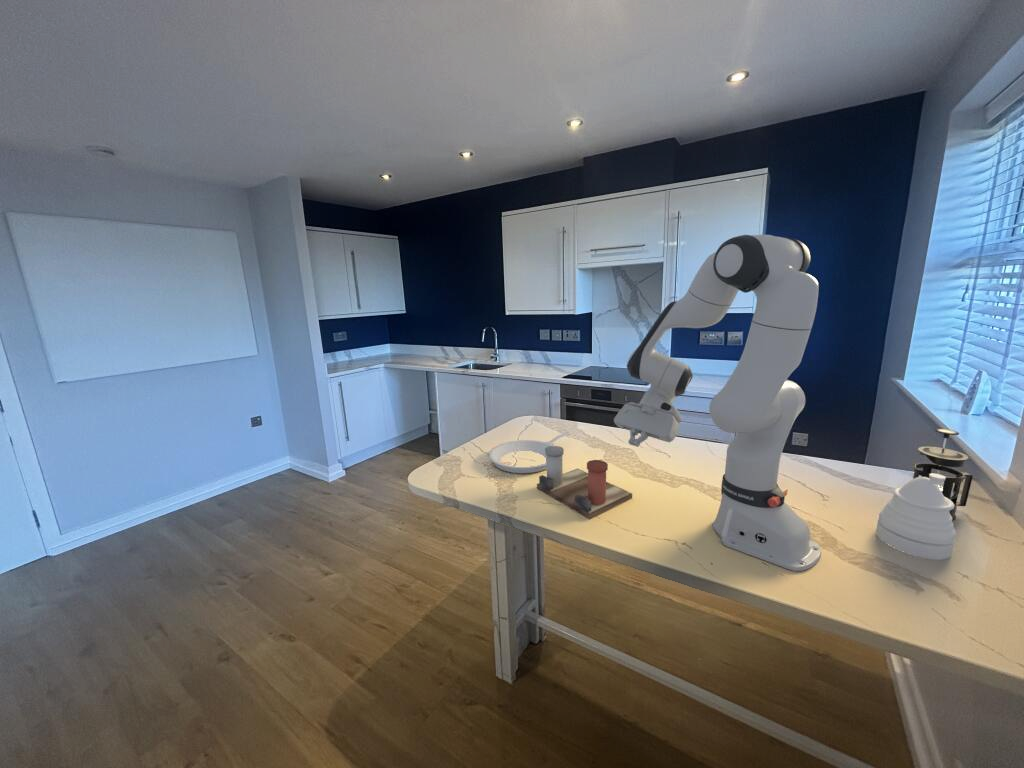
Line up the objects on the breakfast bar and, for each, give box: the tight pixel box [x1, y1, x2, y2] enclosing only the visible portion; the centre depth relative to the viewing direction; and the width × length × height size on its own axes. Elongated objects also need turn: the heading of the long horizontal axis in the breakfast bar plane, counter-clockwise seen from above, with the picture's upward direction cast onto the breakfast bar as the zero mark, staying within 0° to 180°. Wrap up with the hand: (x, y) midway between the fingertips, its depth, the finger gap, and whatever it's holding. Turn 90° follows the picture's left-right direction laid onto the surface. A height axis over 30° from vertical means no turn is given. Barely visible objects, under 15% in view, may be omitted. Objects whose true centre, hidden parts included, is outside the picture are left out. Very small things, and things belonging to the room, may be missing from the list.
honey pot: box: [875, 472, 957, 561], centre depth 93 cm, size 13×13×18 cm
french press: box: [912, 428, 973, 522], centre depth 105 cm, size 12×9×23 cm
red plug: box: [586, 459, 609, 505], centre depth 115 cm, size 6×6×11 cm
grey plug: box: [545, 445, 565, 486], centre depth 126 cm, size 6×6×11 cm
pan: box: [488, 431, 571, 475], centre depth 153 cm, size 26×39×5 cm
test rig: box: [536, 468, 633, 520], centre depth 124 cm, size 23×18×4 cm
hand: (633, 444), depth 122 cm, fingers closed
